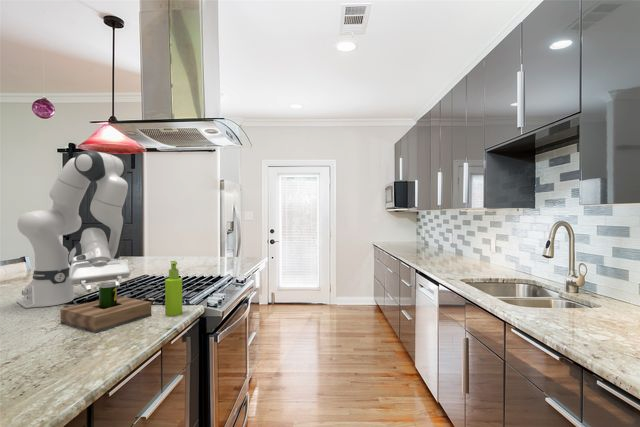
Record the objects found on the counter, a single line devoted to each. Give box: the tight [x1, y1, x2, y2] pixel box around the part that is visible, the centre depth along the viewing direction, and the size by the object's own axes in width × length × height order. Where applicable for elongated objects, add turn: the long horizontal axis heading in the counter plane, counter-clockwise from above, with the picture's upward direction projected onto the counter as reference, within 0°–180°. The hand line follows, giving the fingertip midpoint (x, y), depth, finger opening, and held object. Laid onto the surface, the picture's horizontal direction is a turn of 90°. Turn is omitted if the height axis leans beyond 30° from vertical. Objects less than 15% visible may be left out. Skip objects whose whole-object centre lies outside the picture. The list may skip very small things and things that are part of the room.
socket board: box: [60, 295, 152, 334], centre depth 121 cm, size 20×20×5 cm
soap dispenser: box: [164, 260, 183, 317], centre depth 127 cm, size 6×7×20 cm
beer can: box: [98, 281, 118, 309], centre depth 121 cm, size 5×5×12 cm
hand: (103, 289), depth 128 cm, fingers open, 8 cm apart
